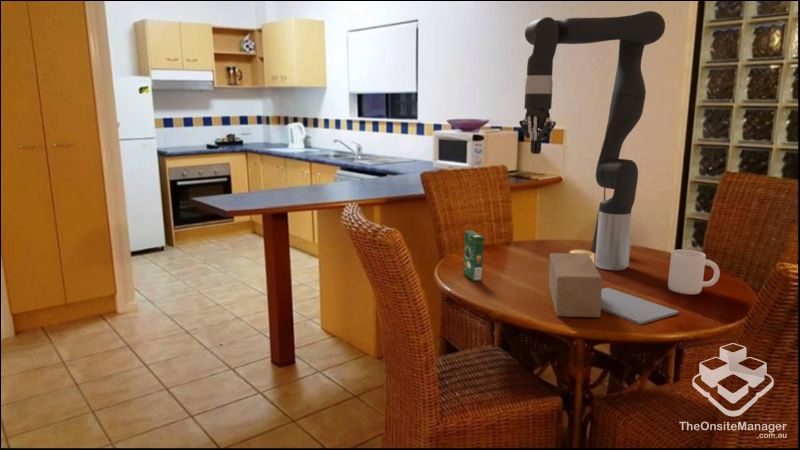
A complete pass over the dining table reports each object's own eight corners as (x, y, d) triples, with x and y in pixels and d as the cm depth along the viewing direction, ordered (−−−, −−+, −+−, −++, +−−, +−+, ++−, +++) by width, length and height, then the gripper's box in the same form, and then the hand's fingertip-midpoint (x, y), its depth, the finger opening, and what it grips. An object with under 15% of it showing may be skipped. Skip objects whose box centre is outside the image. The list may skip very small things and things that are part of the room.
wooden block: (587, 289, 153) (600, 318, 133) (548, 288, 154) (556, 317, 135) (588, 252, 150) (602, 277, 131) (549, 252, 152) (557, 276, 133)
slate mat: (607, 289, 155) (607, 287, 155) (678, 313, 137) (678, 311, 137) (570, 298, 148) (570, 295, 148) (640, 324, 131) (640, 322, 130)
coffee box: (482, 281, 162) (484, 236, 160) (473, 282, 161) (474, 236, 159) (471, 273, 170) (473, 230, 167) (462, 274, 169) (463, 230, 166)
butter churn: (618, 256, 190) (625, 171, 184) (588, 254, 191) (594, 170, 186) (613, 249, 199) (619, 168, 193) (584, 248, 200) (590, 167, 194)
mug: (715, 289, 156) (720, 252, 154) (718, 298, 148) (723, 260, 146) (667, 283, 160) (671, 248, 158) (667, 292, 153) (671, 255, 151)
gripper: (565, 92, 159) (561, 154, 163) (532, 93, 171) (529, 151, 174) (545, 91, 156) (542, 156, 159) (512, 92, 167) (510, 152, 170)
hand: (535, 153), depth 167 cm, fingers closed
